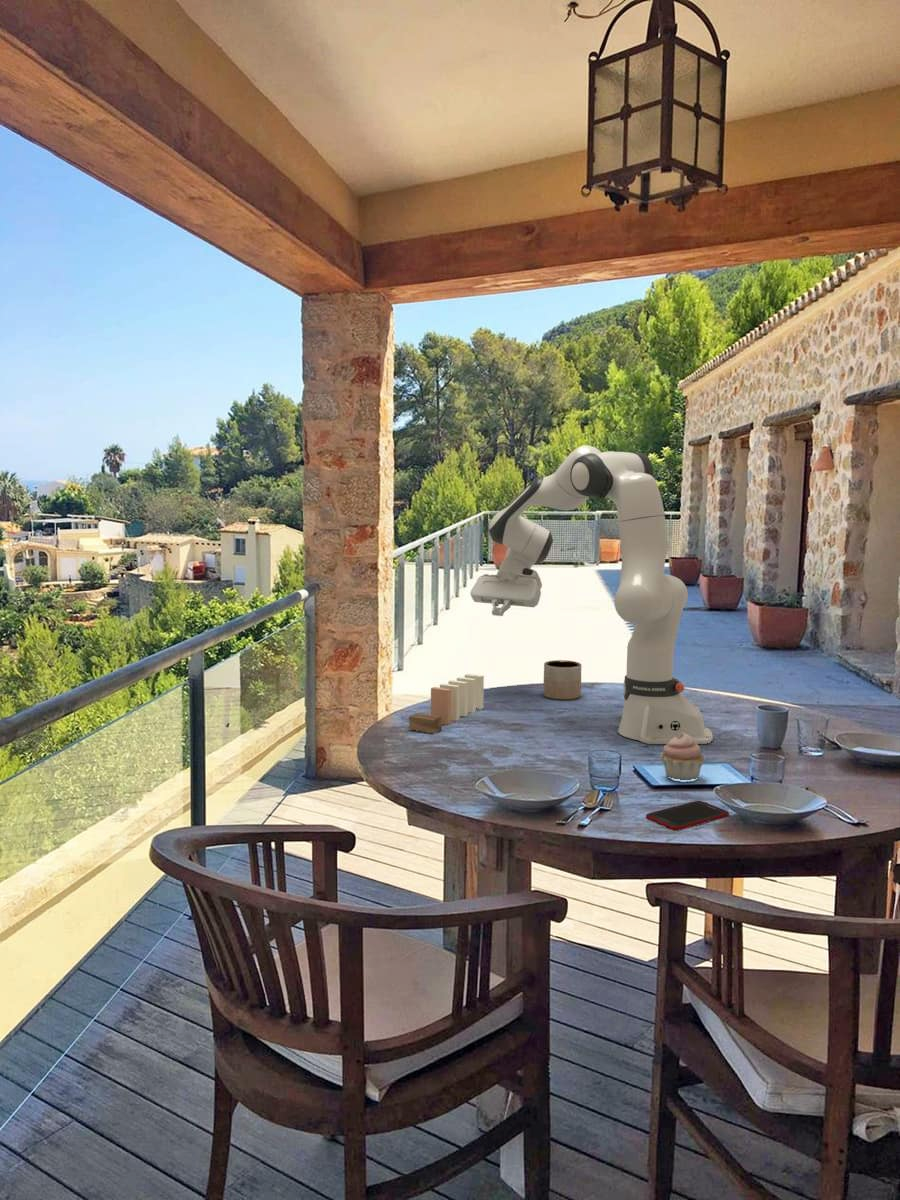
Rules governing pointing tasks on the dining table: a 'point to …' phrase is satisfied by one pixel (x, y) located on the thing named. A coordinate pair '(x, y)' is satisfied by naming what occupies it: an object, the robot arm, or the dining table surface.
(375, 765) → the dining table surface
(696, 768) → the cupcake
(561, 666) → the planter
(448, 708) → the domino
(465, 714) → the domino
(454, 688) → the domino
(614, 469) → the robot arm
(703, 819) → the cell phone
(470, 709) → the domino
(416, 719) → the block
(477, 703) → the domino
